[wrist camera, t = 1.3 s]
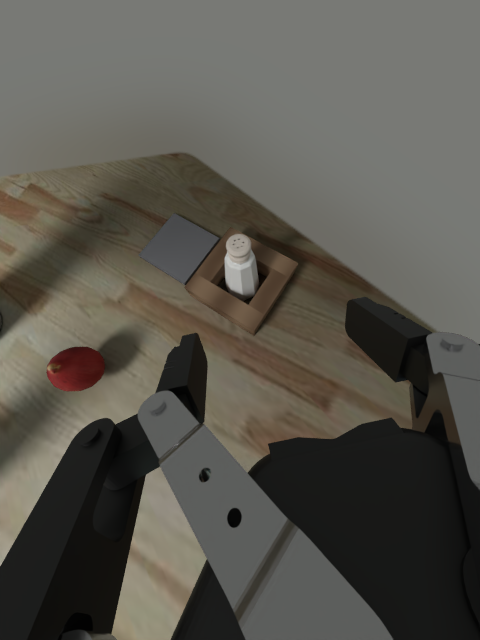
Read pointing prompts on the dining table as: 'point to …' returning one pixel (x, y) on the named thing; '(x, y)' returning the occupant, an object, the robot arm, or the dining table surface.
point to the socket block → (231, 307)
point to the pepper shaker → (240, 268)
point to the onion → (76, 368)
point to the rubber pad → (179, 248)
